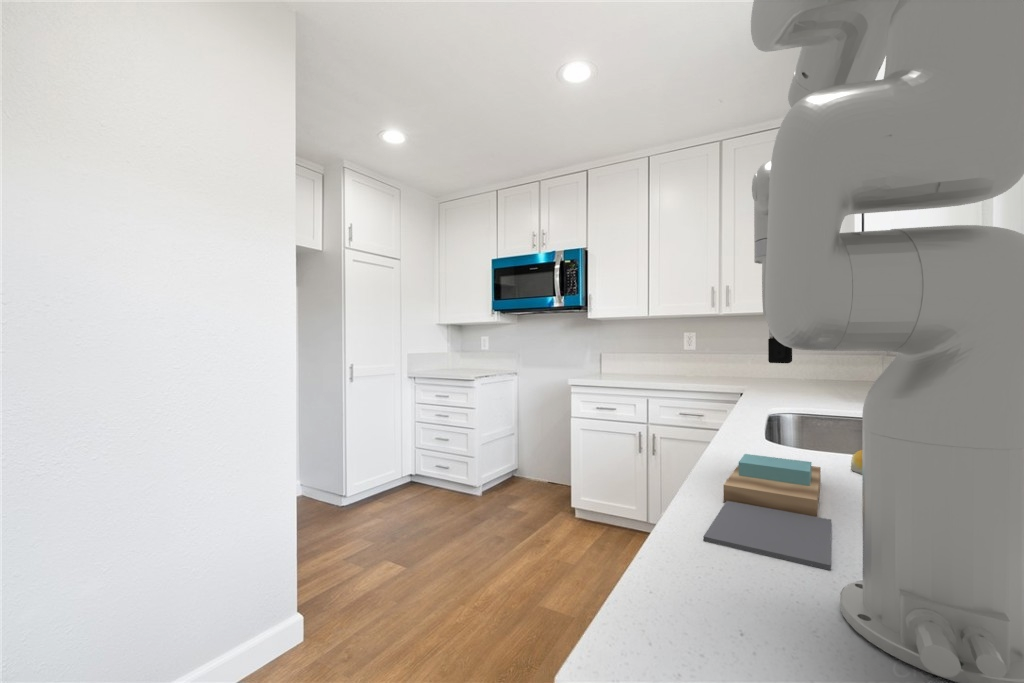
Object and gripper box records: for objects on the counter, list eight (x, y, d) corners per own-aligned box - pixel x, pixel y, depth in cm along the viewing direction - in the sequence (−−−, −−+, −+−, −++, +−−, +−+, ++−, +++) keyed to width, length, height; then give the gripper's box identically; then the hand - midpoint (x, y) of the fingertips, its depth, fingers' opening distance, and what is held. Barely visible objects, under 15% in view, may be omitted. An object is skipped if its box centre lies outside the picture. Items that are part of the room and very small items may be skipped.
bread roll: (920, 485, 73) (920, 460, 72) (849, 475, 78) (849, 451, 78) (916, 473, 79) (916, 449, 79) (852, 464, 85) (851, 442, 85)
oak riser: (817, 519, 59) (817, 499, 59) (723, 502, 65) (723, 484, 65) (820, 482, 73) (820, 467, 73) (744, 471, 80) (744, 457, 80)
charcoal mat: (830, 570, 46) (830, 565, 46) (703, 540, 53) (703, 536, 53) (831, 523, 57) (831, 519, 57) (726, 504, 64) (726, 500, 64)
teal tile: (809, 486, 64) (809, 471, 64) (738, 475, 69) (738, 462, 69) (811, 475, 69) (811, 462, 69) (744, 466, 74) (744, 453, 74)
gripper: (804, 240, 68) (804, 365, 68) (808, 256, 81) (809, 361, 81) (747, 247, 72) (747, 364, 72) (760, 260, 85) (760, 360, 85)
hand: (780, 362), depth 76 cm, fingers closed
